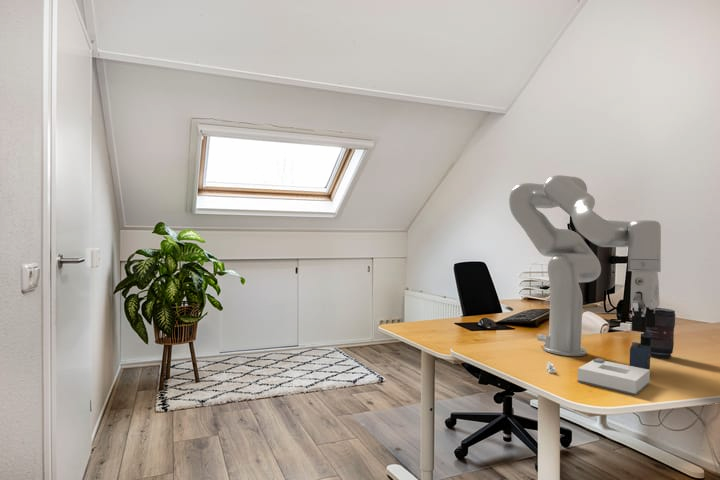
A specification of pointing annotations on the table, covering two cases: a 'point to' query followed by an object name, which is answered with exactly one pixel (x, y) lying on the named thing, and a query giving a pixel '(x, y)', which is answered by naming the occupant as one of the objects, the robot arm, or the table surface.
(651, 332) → the camera lens
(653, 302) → the robot arm
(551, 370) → the power adapter
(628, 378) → the socket block
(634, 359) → the vaping device
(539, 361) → the table surface
